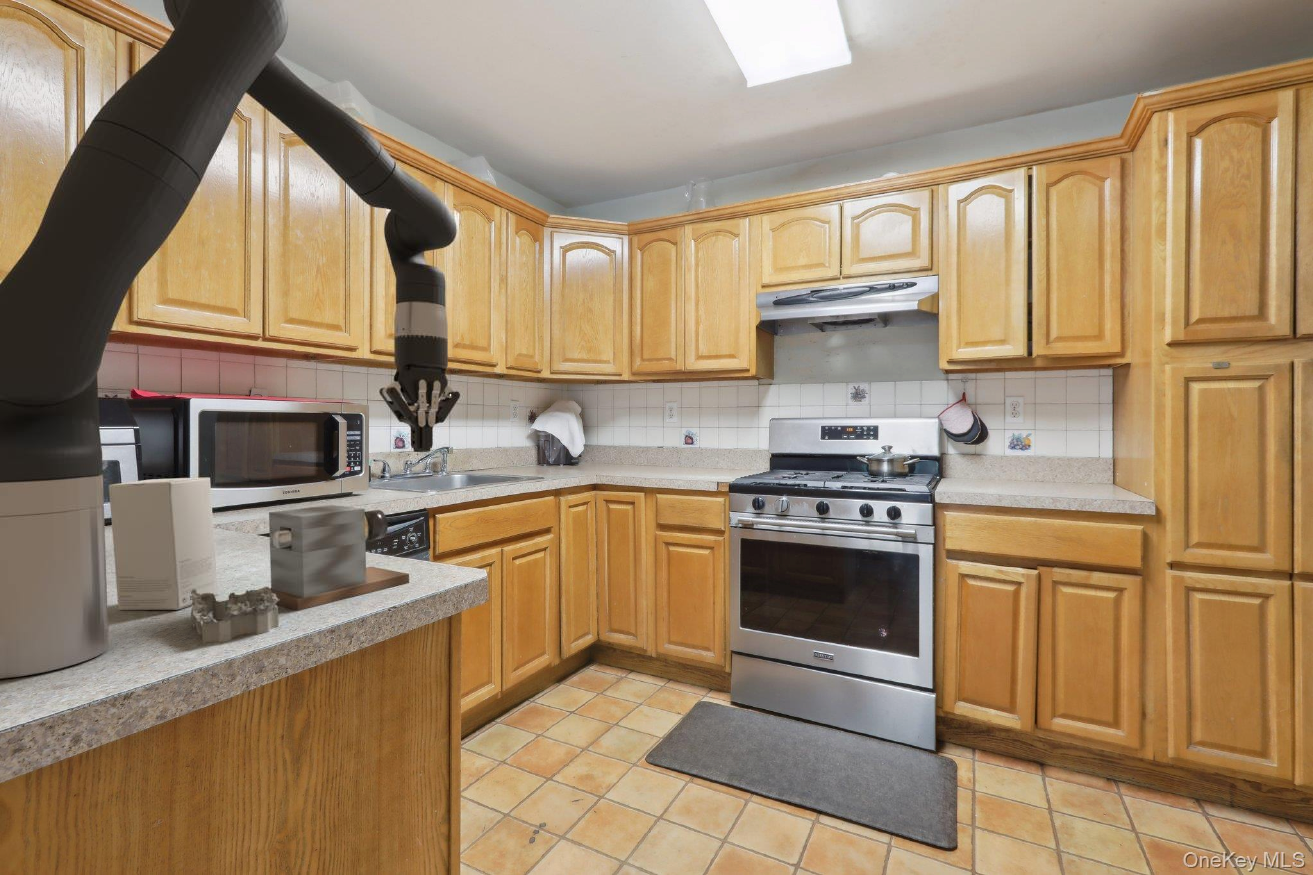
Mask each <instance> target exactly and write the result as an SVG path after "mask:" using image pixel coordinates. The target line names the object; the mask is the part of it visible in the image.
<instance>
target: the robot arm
mask: <svg viewBox="0 0 1313 875" xmlns="http://www.w3.org/2000/svg"><path fill="white" fill-rule="evenodd" d="M162 2H163V7H164V12H165V14H166V17H167V19H168V21H169V22H170V24H171V26H172V27H173V31H172V33H171V35H169V37H168V38H167V40H166V42H165V43H164V44H163V46H162V47H161V48H160V49H159V50H158V51H157V52H156V54H154V56H153V57H152V58H150V59H149V60H148V61H147V62H146V63H145V64H144V65H143V66H142V67H140V68H139V69H138V70H137V71H136V72H135V73H134V74H133V75H131V76H130V78H129V79H127V80H126V81H125V82H124V83H123V84H122V86H121V87H120V88H118V90H117V91H116V92H115V93H113V95H112V96H111V97H110V98H109V99H108V100H107V101H106V102H105V103H104V105H103V106H102V107H101V108H100V109H99V111H98V112H97V114H96V115H95V116H94V118H93V119H92V120H91V122H90V124H89V125H88V127H87V129H86V130H85V132H84V134H83V136H82V137H81V138H80V140H79V141H78V143H77V145H76V146H75V149H74V150H73V152H72V153H71V156H70V157H69V159H68V162H67V164H66V166H65V168H63V171H62V172H61V175H60V177H59V179H58V181H57V183H56V186H55V188H54V190H53V192H52V193H51V196H50V199H49V202H48V204H47V205H46V206H47V207H46V209H45V212H44V215H43V217H42V220H41V222H40V225H39V227H38V229H37V231H36V233H35V236H33V238H32V240H31V242H30V244H29V245H28V247H27V248H26V250H25V251H24V253H23V254H22V255H21V257H20V258H19V259H18V260H17V261H16V263H15V264H14V265H13V266H12V268H11V270H10V271H9V272H8V273H7V274H6V276H5V277H4V278H3V279H2V281H1V282H0V680H1V679H8V678H16V677H24V676H28V675H29V676H30V675H36V674H40V673H46V672H50V671H54V670H55V671H56V670H59V669H63V668H66V667H69V666H73V665H77V664H80V663H83V662H86V661H88V660H91V659H93V658H96V657H98V656H100V655H101V654H103V653H105V652H106V651H107V650H108V649H109V647H110V645H109V643H110V642H109V632H110V627H109V626H110V624H109V619H108V618H109V616H108V615H109V614H108V613H109V612H108V592H107V591H108V589H107V588H108V586H107V584H108V583H107V560H106V529H105V527H106V526H105V506H104V505H105V502H104V501H105V497H104V475H103V474H104V472H103V466H104V465H103V449H102V448H103V447H102V441H101V430H100V415H99V414H100V413H99V412H100V411H99V383H98V372H99V370H100V368H101V364H102V360H103V356H104V355H103V354H104V353H105V352H104V351H105V349H106V346H107V344H108V343H107V342H108V341H109V337H110V334H111V332H112V329H113V326H114V324H115V322H116V319H117V316H118V314H119V312H120V309H121V306H122V305H123V301H124V300H125V298H126V295H127V294H128V291H129V289H130V288H131V286H132V284H133V282H134V281H135V279H136V278H137V276H138V275H139V273H140V272H141V270H142V269H143V268H144V267H145V266H146V265H147V264H148V262H149V261H150V260H151V259H152V257H153V256H154V255H155V254H156V253H157V251H159V250H160V248H161V247H162V245H164V243H165V242H166V240H167V239H168V238H169V236H170V234H171V233H172V232H173V231H174V230H175V227H176V226H177V224H178V223H179V221H180V220H181V218H182V216H184V214H185V212H186V210H187V208H188V207H189V205H190V202H191V200H192V199H193V198H194V195H195V194H196V192H197V190H198V187H199V186H200V185H201V183H202V181H203V178H204V176H205V174H206V172H207V169H208V167H209V165H210V163H211V161H212V159H213V157H214V156H215V153H216V152H217V149H218V148H219V146H220V145H221V142H222V141H223V138H224V136H225V134H226V132H227V130H228V128H229V125H230V124H231V122H232V119H233V118H234V115H235V113H236V110H237V109H238V107H239V104H240V102H241V101H242V99H243V98H244V95H245V94H247V95H248V96H250V98H252V99H253V100H254V101H256V102H257V103H258V104H259V105H261V106H262V107H263V108H264V109H266V110H267V111H268V112H269V113H270V114H271V115H273V117H275V118H276V119H277V120H279V122H280V123H282V124H284V126H286V127H287V128H288V129H289V130H290V131H291V132H293V133H294V134H295V135H296V136H297V137H298V138H300V140H301V141H303V142H304V143H305V144H306V145H307V146H308V147H309V148H310V149H312V150H313V152H314V153H316V154H317V155H318V156H319V157H320V158H321V159H322V160H323V161H324V162H325V163H326V164H327V165H328V166H329V167H330V169H332V171H334V172H335V174H336V175H337V176H338V177H339V178H340V179H341V180H342V181H343V182H344V183H345V184H346V185H347V186H348V187H349V188H350V189H351V190H352V191H353V192H354V193H355V194H356V196H358V197H359V198H360V199H361V200H362V201H363V202H364V203H366V204H367V205H368V206H370V207H373V208H377V209H386V210H389V212H388V214H387V215H386V218H385V221H384V226H383V233H384V234H383V236H384V240H385V244H386V248H387V252H388V254H389V259H390V263H391V266H392V269H393V273H394V276H395V310H394V319H393V320H394V321H393V322H394V323H393V326H394V327H393V331H394V332H393V333H394V334H393V335H394V336H393V340H394V342H393V343H394V344H393V345H394V348H393V349H394V353H393V354H394V357H393V358H394V359H393V361H394V365H395V367H396V371H395V374H394V375H393V382H391V383H390V384H389V385H388V386H387V387H381V388H380V389H379V395H380V397H381V398H382V399H383V402H385V403H386V405H387V406H388V408H389V409H390V410H391V412H392V413H393V415H394V417H396V419H397V421H398V422H399V423H404V424H406V425H408V426H409V428H410V446H411V449H412V450H413V452H414V453H429V452H430V451H431V449H432V448H433V445H434V444H433V443H434V439H433V438H434V436H433V435H434V434H433V433H434V430H433V428H434V426H435V425H437V424H441V423H444V422H445V420H447V418H448V416H449V415H450V413H451V411H452V410H453V408H454V407H455V405H456V403H458V401H459V400H460V398H461V394H460V392H459V391H457V390H455V391H454V390H453V389H452V388H451V387H450V386H449V381H448V378H447V375H446V370H447V368H448V365H449V361H448V360H449V358H448V357H449V349H448V345H449V344H448V343H449V342H448V339H449V338H448V337H449V336H448V334H449V332H448V328H449V327H448V316H447V308H446V307H447V306H446V295H447V294H446V291H447V290H446V286H447V285H446V277H445V274H444V272H443V271H442V269H440V268H438V267H436V266H434V265H430V264H427V262H426V257H425V252H428V251H434V250H440V249H444V248H447V247H448V246H451V244H452V243H454V241H455V239H456V236H457V230H458V229H457V222H456V219H455V217H454V214H453V212H452V211H451V209H450V208H449V207H448V205H447V204H446V203H445V201H444V200H442V198H440V196H438V195H437V194H436V193H434V192H433V191H432V190H431V189H429V188H428V187H426V186H425V185H424V184H423V183H422V182H420V181H419V180H418V179H416V178H415V177H413V176H412V175H411V174H409V173H408V172H406V171H405V170H403V169H402V168H401V167H400V166H399V164H398V163H397V162H396V161H395V160H394V158H393V157H392V156H391V155H390V154H389V153H388V151H387V150H386V149H385V148H384V147H383V145H381V143H380V142H379V141H378V140H377V139H376V137H375V136H373V134H372V133H371V132H370V131H369V130H368V129H367V128H366V127H365V126H364V125H362V124H361V123H360V122H359V121H358V120H356V119H355V118H354V117H352V116H351V115H350V114H348V113H347V112H346V111H344V110H342V109H341V108H340V107H338V106H337V105H336V104H334V103H333V102H331V101H329V99H326V98H325V97H324V96H323V95H321V94H319V93H318V92H317V91H316V90H314V88H313V89H312V88H311V87H310V85H309V86H308V85H307V84H306V83H305V82H304V80H301V79H300V78H299V77H298V76H297V75H296V74H295V73H293V71H291V70H290V68H289V67H287V66H286V64H285V63H283V61H282V60H281V59H280V58H279V57H278V55H277V54H276V53H277V52H278V50H279V49H280V48H281V46H282V45H283V43H284V42H285V39H286V36H287V32H288V27H289V13H288V6H287V2H286V0H162ZM439 399H440V400H439Z"/></svg>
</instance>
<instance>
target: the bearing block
mask: <svg viewBox="0 0 1313 875" xmlns="http://www.w3.org/2000/svg"><path fill="white" fill-rule="evenodd" d="M365 512H366V510H365V508H363V507H353V506H343V505H335V504H329V505H328V504H327V505H320V506H312V507H304V508H303V507H301V508H296V509H295V508H294V509H293V508H292V509H285V510H277V511H269V512H268V524H269V528H268V529H269V531H268V532H269V560H270V561H269V562H270V587H269V588H270V590H271V592H272V593H273V594H276V597H277V598H278V599H280V600H279V601H278V602H277V603H276V604H275V605H278V606H282V607H285V608H288V609H291V610H292V609H293V610H296V611H301V610H306V609H309V608H312V607H317V606H320V605H321V606H322V605H326V604H329V603H334V602H338V601H342V600H345V599H349V598H352V597H356V596H360V595H365V594H369V593H373V592H377V591H380V590H385V589H389V588H393V587H397V586H400V585H405V584H408V583H410V574H409V573H406V572H402V571H397V570H390V569H387V568H381V567H375V566H368V567H367V556H366V553H367V552H366V548H367V547H366V540H365ZM285 530H291V542H292V546H287V547H281V548H276V547H275V546H274V544H273V534H274V533H275V532H278V531H285Z"/></svg>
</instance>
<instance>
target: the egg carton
mask: <svg viewBox="0 0 1313 875" xmlns="http://www.w3.org/2000/svg"><path fill="white" fill-rule="evenodd" d="M270 588H271V587H269V586H264V587H261V588H259V589H250V590H249V589H247V590H246V591H245V593H242V594H235V592H230V593H229V595H228V599H226V600H220V601H219V600H217V598H216V596H214V594H212V593H204V594H201V595H200V594H199V593H197V591H196V590H195V589H193V590H192V591H191V594H192V605H191V606H192V607H191V610H190V618H191V624H192V628H195V629H196V634H199V635H202V636H201V637H202V638H201V641H202V642H203V643H209V642H218V643H223V642H229V641H231V640H232V639H233V638H235V637H237V636H242V635H246V634H247V635H248V634H249V635H250V634H254V635H255V634H256V635H260V634H266V633H268V632H270V630H271V631H272V629H275V628H276V629H277V628H278V627H279V607H278V606H277V604H276V603H277V602H278V601H279V600H280V599H278V598H277V597H276V594H273V593H272V592H271V590H270ZM219 620H220V621H219Z"/></svg>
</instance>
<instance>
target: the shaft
mask: <svg viewBox="0 0 1313 875" xmlns="http://www.w3.org/2000/svg"><path fill="white" fill-rule="evenodd" d="M388 528H389V524H388V518H387V515H386V514H385V512H383V510H381V509H374V510H368V511H367V510H365V542H366V541H367V542H368V541H374V540H378V539H382V538H384V537H385V536H386V535H387V533H388ZM273 544H274V546H275V547H276V548H281V547H287V546H292V542H291V530H285V531H278V532H275V533H274V534H273Z"/></svg>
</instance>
